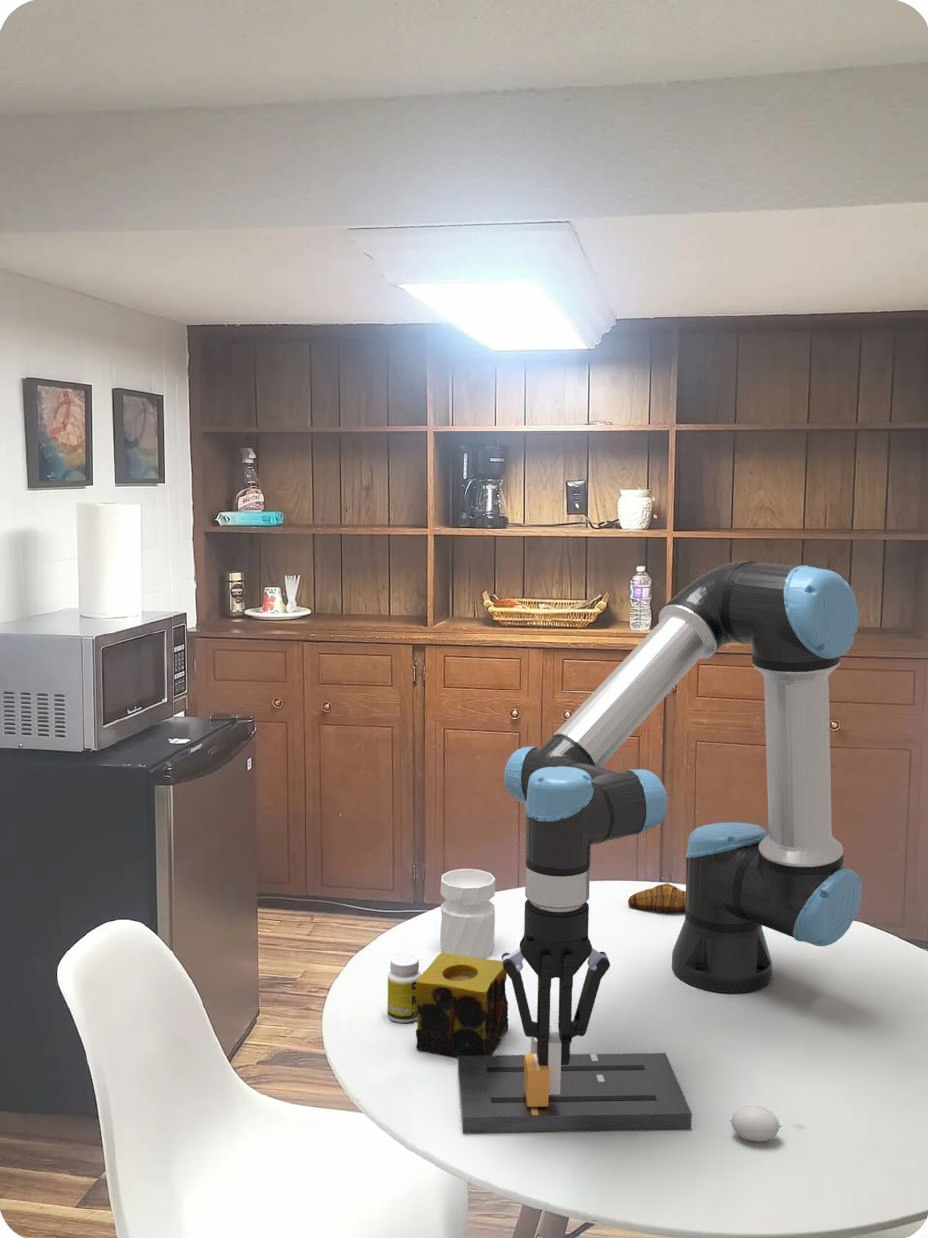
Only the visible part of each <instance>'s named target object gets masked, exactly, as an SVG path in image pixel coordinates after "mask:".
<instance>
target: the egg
mask: <svg viewBox="0 0 928 1238" xmlns="http://www.w3.org/2000/svg"><path fill="white" fill-rule="evenodd" d="M728 1122H730V1123H731V1127H732V1129H733V1130H734V1132H735V1133H736V1134H738V1136H739V1137H741V1138H743V1139H745V1140H747V1141H751V1142H756V1143H757V1142H767V1141H769V1140H771V1139H773V1138H774V1137H775V1136H777V1134H778V1133H779V1130H780V1128H781V1127H782V1125H780V1122H779V1119H778V1118H777V1116H776V1115H775V1114H774V1113H773V1112H772V1111H770V1110H769V1109H767V1108H764V1107H762V1106H758V1105H757V1106H756V1105H746V1106H743V1107H740V1108H739V1109H736V1110H735V1111H734V1113H733V1114H732V1116H731V1119H729V1120H728Z"/></svg>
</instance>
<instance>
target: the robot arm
mask: <svg viewBox="0 0 928 1238" xmlns="http://www.w3.org/2000/svg"><path fill="white" fill-rule="evenodd" d="M858 627H859V609H858V603H857V599H856V596H855V594H854V591H853V590H852V587H851V586H850V583H848V582H847V581H845V580H844V578H843V576H842V575H840V574H839V573H837V572H836V571H833V570H830V569H825V568H819V567H818V568H817V567H815V566H810V565H799V564H786V563H785V564H784V563H771V562H770V563H769V562H757V561H752V560H738V561H732V562H728V563H725V564H722V565H720V566H717V567H715V568H713V569H712V570H710V571H707V572H706V573H704V574H702V575H701V576H699V577H698V578H696V579H695V580H693V581H692V582H691V583H690V584H688V585H687V586H685V587H684V588H683V589H681V590H679V592H678V593H677V594H676V595H674V597H673V598H672V599H670V600H669V601H668V602H667V603H666V604H665V605H664V607H663V608H662V609H661V610H660V611H659V614H658V623H657V624H656V625H655V627H653V629H651V630H650V632H649V633H648V634H647V635H646V636H645V637H644V638H643V639H642V640H641V641H640V643H639V644H637V646H636V647H635V648H633V650H632V651H631V652H630V653H629V654H628V655H627V656H626V657H625V659H624V660H622V661H621V663H620V664H619V665H618V666H617V667H616V668H615V669H614V670H613V671H612V672H611V673H610V674H609V675H608V676H607V678H606V679H604V681H602V683H601V684H600V685H599V686H598V687H596V689H595V690H594V691H593V692H592V693H591V695H589V696H588V698H587V699H586V700H585V701H584V702H583V703H582V704H581V705H580V706H579V707H578V708H577V709H576V710H575V711H574V712H573V714H572V715H571V716H570V717H568V718H567V720H566V721H565V722H564V723H563V724H562V725H561V726H560V727H559V728H558V729H557V731H556V732H555V733H554V734H552V737H551V738H549V739H548V740H547V741H546V742H545V743H544V744H543V745H542V746H541V747H538V746H523V747H521V748H519V749H517V750H516V751H514V752H513V753H512V754H511V755H510V757H509V758H508V759H507V762H506V765H505V768H504V773H503V779H504V780H503V781H504V785H505V788H506V790H507V794H509V795H510V796H511V797H512V798H513V799H514V800H516V801H518V802H520V803H521V804H524V805H525V806H524V810H525V884H524V885H525V888H524V896H525V898H526V900H525V902H524V918H523V919H524V924H523V925H524V926H523V928H524V929H523V931H524V932H523V937H522V938H521V940H520V942H519V948H516V950H514V951H512V952H511V953H509V952H504V953H503V954H501V961H502V963H503V968H504V970H505V971H506V973H507V977H509V978H510V980H511V983H512V988H513V991H514V995H515V1000H516V1004H517V1008H518V1009H517V1010H518V1012H519V1016H520V1017H519V1018H520V1020H521V1025H522V1029H523V1033H524V1035H525V1037H527V1038H531V1037H535V1038H536V1039H537V1058H538V1062H539V1065H548V1068H549V1095H560V1081H561V1065H568V1064H569V1062H570V1054H571V1044H572V1042H573V1038H575V1037H578V1036H579V1037H584V1036H585V1035H586V1034H587V1030H588V1027H589V1024H590V1019H591V1016H592V1012H593V1010H594V1005H595V1002H596V998H597V995H598V991H599V988H600V985H601V981H602V979H603V977H604V976H605V974H606V973H607V971H608V970H609V968H610V967H611V962H610V960H609V958H608V955H607V953H606V952H605V951H598V950H596V949H595V948H593V946H592V943H591V939H590V938H589V915H590V914H589V913H590V906H589V903H588V901H589V899H590V870H591V869H590V866H591V849H592V846H593V845H597V844H601V843H603V842H608V841H612V840H616V839H620V838H624V837H627V836H628V837H629V836H632V835H635V836H636V835H640V834H642V833H643V832H645V831H647V830H650V829H653V828H656V827H657V826H659V825H660V824H661V823H662V822H663V820H664V819H665V816H666V814H667V810H668V795H667V790H666V787H665V786H664V784H663V782H662V781H661V779H660V778H659V777H658V776H657V775H656V774H655V773H653V772H652V771H651V770H647V769H643V768H641V769H640V768H639V769H626V770H625V771H622V772H620V771H619V772H618V771H613V770H611V769H607V768H604V767H603V766H604V764H606V762H607V761H608V760H609V759H610V758H611V757H612V756H613V754H615V752H616V751H617V750H618V749H620V747H621V746H622V745H623V743H625V742H626V740H627V739H628V738H629V737H630V736H631V735H632V733H634V731H635V730H636V729H637V728H638V727H639V726H640V725H641V724H642V723H643V722H644V720H646V719H647V717H648V716H649V715H650V714H651V713H652V712H653V710H654V709H655V708H656V707H658V705H659V704H660V703H661V702H662V701H663V700H664V699H665V698H666V696H667V695H668V694H669V693H670V692H671V691H672V690H673V689H674V687H675V686H676V685H677V684H678V683H679V682H680V681H681V680H682V678H684V676H685V675H686V674H687V673H688V672H689V671H690V670H691V669H692V668H693V667H694V665H696V663H697V662H698V661H699V660H704V659H705V660H706V659H709V658H711V657H713V655H714V654H715V653H716V652H717V651H718V650H719V649H720V648H721V647H723V646H724V645H725V646H726V645H729V644H734V643H739V644H745V645H749V646H751V662H752V663H751V664H752V666H753V667H754V668H755V669H756V670H757V672H759V673H760V674H761V675H762V676H763V686H764V687H763V688H764V716H765V717H764V718H765V719H764V720H765V721H764V722H765V723H764V724H765V747H766V748H765V749H766V750H765V751H766V753H765V754H766V780H767V781H766V783H767V813H768V817H767V819H768V834H767V831H766V829H765V828H764V827H762V826H760V825H759V824H758V825H757V824H754V823H748V822H747V823H745V822H717V823H711V824H705V825H703V826H699V827H697V828H695V829H694V830H693V831H692V832H691V833H690V834H689V836H688V843H687V853H685V856H686V862H685V864H686V865H685V866H686V871H685V872H686V874H685V891H686V904H685V907H686V908H685V913H684V921H683V924H682V926H681V929H680V931H679V934H678V936H677V939H676V942H675V944H674V946H673V950H672V952H671V953H672V954H671V969H672V972H673V973H674V974H675V976H676V977H677V978H679V979H680V980H681V981H683V982H685V983H686V984H689V985H691V986H694V987H696V988H699V989H702V990H708V991H712V992H719V993H729V994H732V993H733V994H734V993H735V994H736V993H737V994H738V993H747V992H748V993H749V992H753V991H756V990H757V991H758V990H760V989H762V988H765V987H766V986H767V985H769V983H770V982H771V980H772V977H773V976H772V974H773V973H772V972H773V962H772V958H771V954H770V950H769V947H768V943H767V940H766V938H765V933H764V930H763V927H765V928H767V929H771V930H773V931H776V932H778V933H781V934H783V935H786V936H788V937H792V938H793V939H794V940H795V941H797V942H800V943H802V942H803V943H808V944H810V945H813V946H815V947H827V946H830V945H832V944H834V943H836V942H837V941H839V940H840V939H841V938H842V937H843V936H844V935H845V934H846V933H847V932H848V930H849V929H850V928H851V925H852V923H853V922H854V920H855V919H856V917H857V915H858V911H859V909H860V906H861V901H862V895H863V884H862V880H861V877H860V876H859V875H858V874H857V872H856V871H854V870H853V869H851V868H849V867H845V866H844V848H843V845H842V843H841V842H840V841H839V840H838V839H836V838H835V837H834V836H833V834H832V833H833V831H832V791H831V790H832V789H831V783H832V782H831V780H832V779H831V735H830V731H831V729H830V689H829V687H830V684H829V681H830V679H829V676H830V674H831V673H832V672H834V671H835V670H836V669H837V668H838V667H839V666H840V665H841V656H844V655H845V654H846V653H847V652H848V651H849V650H850V648H851V647H852V646H853V644H854V641H855V638H854V635H856V634H857V633H858V632H857V631H858ZM524 959H525V961H526V962H527V964H528V965H529V967H531V969H532V970H533V971H534V973H535V974H536V975H537V1008H536V1009H537V1012H536V1013H537V1014H536V1015H537V1016H536V1021H534V1020H533V1019H532V1014H531V1010H530V1006H529V1002H528V999H527V995H526V991H525V985H524V981H523V977H522V973H521V971H522V970H524V969H523V968H524V963H523V960H524ZM586 961H587V962H586ZM585 962H586V963H587V965H588V968H587V971H586V974H585V978H584V982H583V986H582V989H581V993H580V996H579V999H578V1003H577V1006H576V1009H575V1013H574V1018H573V1020H572V1013H573V1012H572V1010H573V1008H572V1006H573V986H574V976H575V975H576V974H577V972H578V971H579V970H580V969H581V967H582V966H583V965H584V963H585ZM556 978H557V979H559V980H558V981H559V984H558V988H559V989H558V1022H557V1023H558V1031H553V1032H549V1031H550V1025H551V1024H550V1021H551V1018H550V1017H551V988H552V979H556Z"/></svg>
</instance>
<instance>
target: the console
mask: <svg viewBox="0 0 928 1238" xmlns="http://www.w3.org/2000/svg"><path fill="white" fill-rule="evenodd" d="M524 1059H525V1054H505V1055H503V1054H502V1055H500V1054H497V1055H496V1054H495V1055H492V1054H491V1055H487V1056H458V1057H457V1074H458V1086H459V1087H458V1088H459V1101H460V1114H461V1126H462V1127H461V1128H462V1134H497V1133H498V1134H499V1133H503V1134H504V1133H505V1134H506V1133H508V1134H509V1133H551V1132H552V1133H554V1132H555V1133H559V1132H560V1133H561V1132H566V1133H567V1132H613V1131H616V1132H618V1131H623V1132H624V1131H625V1132H626V1131H666V1130H667V1131H668V1130H669V1131H670V1130H671V1131H673V1130H678V1131H679V1130H680V1131H682V1130H692V1118H693V1117H692V1111H691V1109H690V1106H689V1104H688V1102H687V1099H686V1097H685V1095H684V1092H683V1091H682V1088H681V1085H680V1083H679V1081H678V1079H677V1077H676V1074H675V1072H674V1069H673V1067H672V1065H671V1062H670V1060H669V1058H668V1056H667V1054H666V1052H657V1053H656V1052H644V1053H642V1052H641V1053H630V1052H629V1053H575V1054H574V1053H573V1054H571V1053H570V1062H569V1064H568V1065H561V1081H560V1095H549V1096H548V1106H544V1107H527V1103H526V1097H525V1092H524Z"/></svg>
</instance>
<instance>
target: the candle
mask: <svg viewBox="0 0 928 1238" xmlns="http://www.w3.org/2000/svg"><path fill="white" fill-rule="evenodd" d="M507 977H508V974H507V973H506V971H505V970H504V968H503V963H502V960H496V959H495V960H494V959H489V958H487V959H486V958H485V959H482V958H474V957H468V956H461V955H454V954H446V953H443V952H440V953H439V954H438V955H437V956H436V957H435V959H434V960H433V961H432V962H431V964H429V966H428V967H427V968H426V969H425V970H424V971H423V972H422V973H421V976H420V977H419V978H418V979H417V980H416V1005H417V1010H418V1013H417V1020H416V1021H417V1025H416V1026H417V1027H416V1030H415V1037H416V1045H415V1047H416V1049H417V1050H419V1051H422V1052H427V1053H432V1054H438V1055H441V1056H447V1057H454V1058H458V1056H487V1055H492V1053H494V1052H495V1050H496V1049H497V1047H498V1046H499V1044H500V1042H501V1041H502V1039H501V1037H502V1036H503V1035H504V1034H505V1033H506V1032H508V1029H509V1027H510V1026H509V1018H508V1016H509V1007H508V1006H509V1002H508V998H507V993H506V981H507Z"/></svg>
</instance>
